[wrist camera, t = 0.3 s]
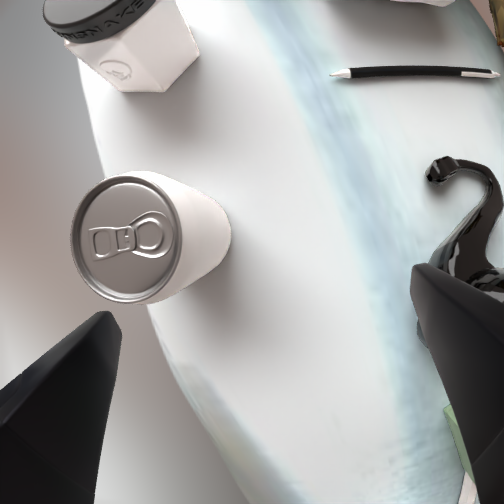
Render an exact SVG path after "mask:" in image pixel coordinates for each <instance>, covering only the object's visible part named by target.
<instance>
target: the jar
mask: <svg viewBox="0 0 504 504" xmlns="http://www.w3.org/2000/svg"><path fill="white" fill-rule="evenodd" d="M43 17H44V20H45V22H46V23H47V24H48V25H49V26H50V27H51V29H52V30H53V31H54V32H56V33H57V34H58V35H59V36H61V37H64V42H65V47H66V48H67V49H68V50H70V51H71V52H72V53H73V54H74V55H76V56H77V57H78V58H79V59H81V60H82V61H83V62H84V63H86V64H87V65H88V66H89V67H90V68H92V69H93V70H94V71H95V72H97V73H98V74H99V75H100V76H101V77H103V78H104V79H105V80H106V81H108V82H109V83H110V84H111V85H112V86H114V87H115V88H116V89H117V90H118V91H120V92H165V91H166V90H167V89H168V88H169V87H170V86H171V85H172V84H173V83H174V81H175V80H176V79H177V78H178V77H179V76H180V75H181V74H182V73H183V72H184V71H185V70H186V69H187V68H188V67H189V66H190V65H191V64H192V63H193V62H194V61H195V60H196V59H197V58H198V57H199V55H200V52H199V50H198V47H197V45H196V42H195V40H194V37H193V35H192V32H191V30H190V27H189V25H188V22H187V20H186V18H185V16H184V14H183V12H182V9H181V7H180V5H179V3H178V1H177V0H45V2H44V6H43Z"/></svg>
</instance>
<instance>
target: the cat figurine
mask: <svg viewBox="0 0 504 504" xmlns="http://www.w3.org/2000/svg"><path fill="white" fill-rule="evenodd" d="M458 170H466V171H471V172H474V173H477V174H479V175H481V176H482V178H483V179H484V181H485V182H486V186H487V187H486V192H485V194H484V196H483V198H482V200H481V201H480V202H479V204H478V205H477V206H476V207H475V208H474V209H473V210H472V211H471V212H470V213H469V214H468V215H467V216H466V217H465V218H464V219H463V220H462V221H461V222H460V224H459V225H458V226H457V227H456V228H455V229H454V230H453V232H452V233H451V234H450V235H449V236H448V237H447V238H446V239H445V240H444V241H443V242H442V243H441V244H440V245H439V247H438V248H437V249H436V250H435V251H434V253H433V255H432V257H431V259H430V260H429V262H428V264H430V265H432V266H434V267H436V268H438V269H440V270H442V271H444V272H446V273H448V274H450V275H452V276H454V277H456V278H458V279H459V280H461V281H463V282H465V283H467V284H469V285H471V286H473V287H475V288H477V289H479V290H480V291H482V292H484V293H486V294H488V295H490V296H492V297H493V298H495V299H497V300H499V301H501V302H503V303H504V268H495V267H494V266H493V265H491V264H490V263H489V262H488V260H487V258H486V252H487V246H488V241H489V238H490V235H491V232H492V230H493V228H494V227H495V225H496V224H497V222H498V221H499V219H500V218H501V215H502V212H503V208H504V201H503V195H502V191H501V188H500V185H499V182H498V181H497V179H496V177H495V175H494V174H493V172H492V171H491V170H490V169H489V168H488V167H486V166H485V165H482V164H479V163H475V162H472V161H468V160H462V159H453V158H451V157H449V156H445V157H442V158H439V159H436V160H434V161H433V163H432V164H431V165H430V166H429V167H428V169H427V170H426V171H425V175H426V177H427V179H428V180H429V182H430V183H431V184H432V185H433V186H440V185H442V184H443V183H444V182H445V181H446V180H447V179H449V178H450V177H452V176H454V175H455V174H456V173H457V172H458ZM417 335H418V337H419V339H420V341H421V342H422V343H423V344H424V345H425V346H426V347H427V348H428V346H427V343H426V341H425V338H424V335H423V332H422V329H421V326H420V323H419V319H418V322H417ZM428 349H429V348H428Z"/></svg>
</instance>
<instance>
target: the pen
mask: <svg viewBox="0 0 504 504" xmlns="http://www.w3.org/2000/svg"><path fill="white" fill-rule="evenodd" d="M397 75H450V76H470V77H485V78H494V77H495V76H499V77H500V73H494V72H493V71H492V70H488V69H477V68H465V67H448V66H378V67H360V68H348V69H345V70H341V71H338V72H335V73H332V74H330V75H329V76H332V77H343V78H361V77H375V76H397Z"/></svg>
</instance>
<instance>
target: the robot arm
mask: <svg viewBox="0 0 504 504" xmlns="http://www.w3.org/2000/svg"><path fill="white" fill-rule="evenodd" d="M410 295H411V298H412V301H413V304H414V307H415V310H416V313H417V316H418V319H419V323H420V326H421V329H422V332H423V335H424V338H425V341H426V343H427V346H428V348H429V351H430V353H431V355H432V358H433V360H434V363H435V365H436V368H437V370H438V372H439V375H440V377H441V380H442V383H443V385H444V388H445V390H446V393H447V396H448V398H449V401H450V404H451V407H452V409H453V412H454V415H455V418H456V421H457V424H458V427H459V430H460V433H461V436H462V439H463V442H464V445H465V449H466V452H467V455H468V459H469V462H470V465H471V470H472V473H473V477H474V481H475V485H476V489H477V493H478V497H479V501H480V504H504V303H503V302H501V301H499V300H497V299H495V298H493V297H492V296H490V295H488V294H486V293H484V292H482V291H480V290H479V289H477V288H475V287H473V286H471V285H469V284H467V283H465V282H463V281H461V280H459V279H458V278H456V277H454V276H452V275H450V274H448V273H446V272H444V271H442V270H440V269H438V268H436V267H434V266H432V265H430V264H428V263H421V264H416V265H414V266H413V267H412V273H411V284H410ZM121 341H122V332H121V329H120V328H119V326H118V324H117V322H116V320H115V318H114V317H113V315H112V313H111V312H109V311H100V312H97V313H95V314H94V315H93V316H92V317H90V318H89V319H88V320H86V321H85V322H84V323H83V324H81V325H80V326H79V327H77V328H76V329H75V330H74V331H72V332H71V333H70V334H69V335H67V336H66V337H65V338H64V339H62V340H61V341H60V342H59V343H58V344H56V345H55V346H54V347H53V348H51V349H50V350H49V351H47V352H46V353H45V354H44V355H42V356H41V357H40V358H39V359H38V360H36V361H35V362H34V363H33V364H31V365H30V366H29V367H28V368H27V369H25V370H24V371H23V372H22V374H19V375H18V376H17V377H16V378H15V379H13V380H12V381H11V382H10V383H8V384H7V385H6V386H5V387H4V388H3V389H1V390H0V504H94V498H95V489H96V482H97V474H98V469H99V462H100V456H101V450H102V445H103V439H104V434H105V428H106V423H107V418H108V414H109V408H110V404H111V399H112V395H113V390H114V386H115V381H116V376H117V369H118V361H119V354H120V348H121V347H120V346H121Z"/></svg>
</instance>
